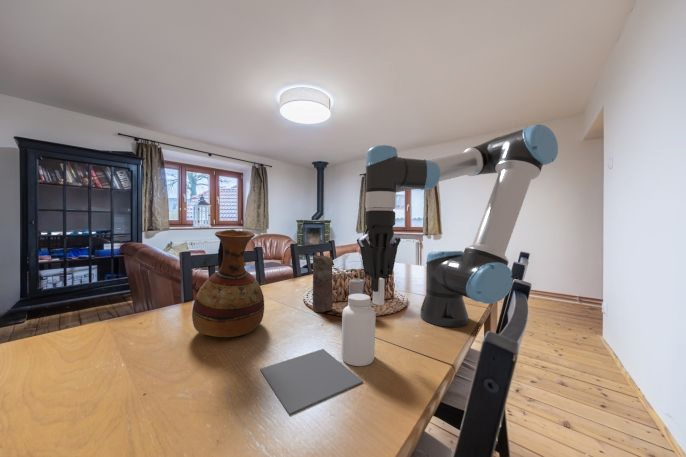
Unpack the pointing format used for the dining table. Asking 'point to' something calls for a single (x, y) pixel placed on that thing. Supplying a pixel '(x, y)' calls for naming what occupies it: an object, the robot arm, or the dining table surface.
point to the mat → (308, 379)
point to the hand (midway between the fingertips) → (378, 303)
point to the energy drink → (356, 286)
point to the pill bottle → (358, 331)
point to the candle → (322, 283)
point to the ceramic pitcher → (229, 292)
